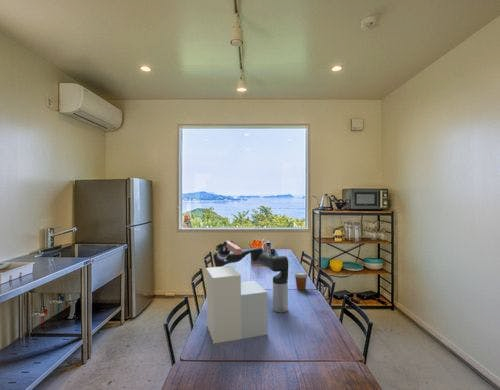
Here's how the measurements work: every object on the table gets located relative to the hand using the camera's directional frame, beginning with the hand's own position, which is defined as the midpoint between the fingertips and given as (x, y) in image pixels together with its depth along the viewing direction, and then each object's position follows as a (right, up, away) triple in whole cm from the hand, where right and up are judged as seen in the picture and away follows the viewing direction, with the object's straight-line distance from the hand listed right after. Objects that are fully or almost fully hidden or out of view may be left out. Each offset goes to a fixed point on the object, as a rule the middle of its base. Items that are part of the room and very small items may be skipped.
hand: (229, 242), depth 177 cm
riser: (+5, -43, -22) cm, 49 cm away
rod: (+2, -3, -7) cm, 8 cm away
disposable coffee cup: (+51, -42, +42) cm, 78 cm away
